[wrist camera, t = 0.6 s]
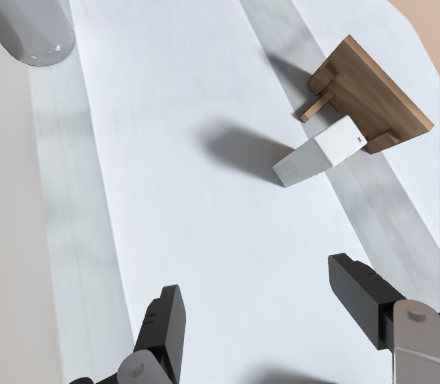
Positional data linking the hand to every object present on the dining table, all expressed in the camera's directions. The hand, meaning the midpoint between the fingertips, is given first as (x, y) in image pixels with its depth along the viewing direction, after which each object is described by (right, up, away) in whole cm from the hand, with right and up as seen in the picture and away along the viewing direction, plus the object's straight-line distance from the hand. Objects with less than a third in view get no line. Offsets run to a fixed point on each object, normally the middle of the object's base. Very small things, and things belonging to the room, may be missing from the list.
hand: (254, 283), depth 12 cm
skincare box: (+10, +9, +26) cm, 29 cm away
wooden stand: (+18, +17, +29) cm, 38 cm away
